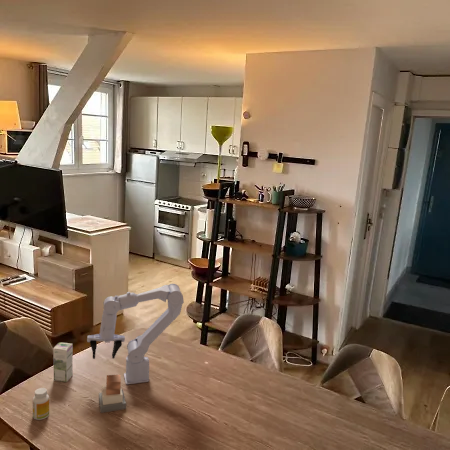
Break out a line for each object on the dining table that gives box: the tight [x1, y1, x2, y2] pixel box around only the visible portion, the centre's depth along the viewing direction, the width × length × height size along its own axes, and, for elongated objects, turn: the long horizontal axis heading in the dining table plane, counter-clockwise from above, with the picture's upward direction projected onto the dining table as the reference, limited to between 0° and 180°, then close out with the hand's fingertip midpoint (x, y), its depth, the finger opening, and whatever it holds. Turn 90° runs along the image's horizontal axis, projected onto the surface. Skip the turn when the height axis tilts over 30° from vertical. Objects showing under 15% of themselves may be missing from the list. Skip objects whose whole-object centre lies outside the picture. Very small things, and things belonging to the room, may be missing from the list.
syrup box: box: [52, 342, 74, 383], centre depth 171 cm, size 6×6×14 cm
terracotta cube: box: [105, 374, 122, 395], centre depth 157 cm, size 5×5×5 cm
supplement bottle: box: [32, 387, 50, 421], centre depth 148 cm, size 5×5×10 cm
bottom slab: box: [98, 388, 127, 414], centre depth 159 cm, size 9×9×3 cm
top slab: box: [101, 385, 123, 405], centre depth 158 cm, size 7×7×3 cm
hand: (103, 357), depth 171 cm, fingers open, 7 cm apart
